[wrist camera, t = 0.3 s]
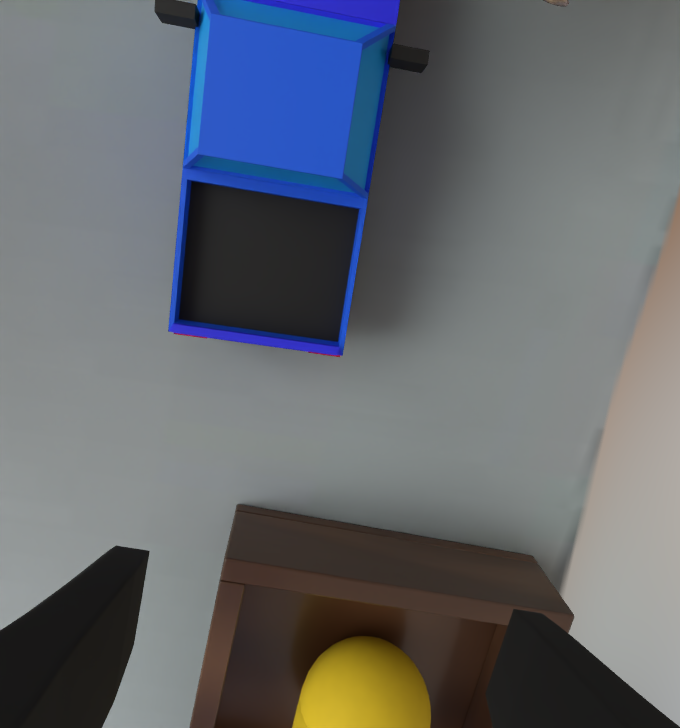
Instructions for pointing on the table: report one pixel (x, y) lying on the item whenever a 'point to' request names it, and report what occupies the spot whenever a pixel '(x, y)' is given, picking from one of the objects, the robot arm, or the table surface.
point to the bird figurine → (558, 2)
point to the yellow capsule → (363, 688)
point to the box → (358, 614)
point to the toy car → (279, 164)
